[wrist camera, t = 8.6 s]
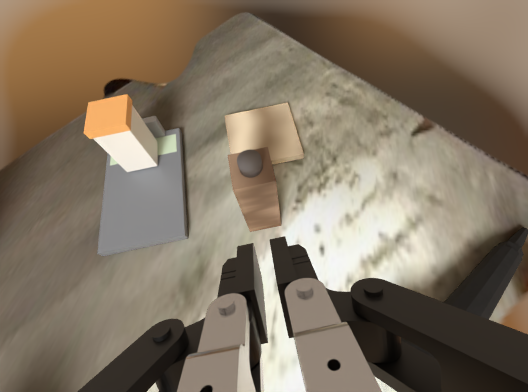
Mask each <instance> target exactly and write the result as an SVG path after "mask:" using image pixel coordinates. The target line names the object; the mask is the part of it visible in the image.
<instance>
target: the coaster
mask: <svg viewBox="0 0 528 392" xmlns="http://www.w3.org/2000/svg"><path fill="white" fill-rule="evenodd" d="M225 121H226V127H227V134H228V140H229V146H230V153H231V154H235V153H240V152H243V151H245V150H249V149H251V150H254V149H259V148H264V147H268V150H269V154H270V158H271V162H272V165H274V164H278V163H283V162H288V161H293V160H297V159H302V158H304V153H303V150H302V146H301V143H300V140H299V137H298V134H297V130H296V127H295V124H294V121H293V118H292V114H291V111H290V108H289V105H288V102H287V103H282V104H278V105H273V106H268V107H263V108H259V109H254V110H249V111H245V112H240V113H235V114H230V115H226V116H225Z"/></svg>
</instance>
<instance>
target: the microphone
mask: <svg viewBox="0 0 528 392" xmlns="http://www.w3.org/2000/svg"><path fill="white" fill-rule="evenodd" d="M527 234H528V229H527V228H521V229H520V230H519V231H518V232H517V233H515V234H514V235H513V236H512V237H511V238H510V239H509V240H508V241H506V242H503V243H499V244H498V246H495V247H494V248H493V249H492V250H491V252H490V253H489V254H488V255H487V256H486V257H485V258H484V259H483V260H482V261H481V262H480V264H479V265H478V266H477V267H476V268H475V269H474V270H473V271H472V272H471V273H470V275H469V276H468V277H467V278H466V279H465V280H464V281H463V282H462V283H461V284H460V285H459V287H458V288H457V289H456V290H455V291H454V292H453V293H452V294H451V295H450V296H449V298H448V299H447V300H446V301H445V302H444V303H446V304H449V305H451V306H454V307H457V308H459V309H462V310H465V311H467V312H470V313H472V314H475V315H478V316H480V317H483V318H486V319H488V320H489V318H490V316H491V314H492V313H493V311H494V309H495V307H496V305H497V304H498V302H499V300H500V298H501V296H502V295H503V293H504V291H505V289H506V287H507V286H508V284H509V282H510V280H511V278H512V277H513V275H514V273H515V271H516V269H517V268H518V266H519V264H520V262H521V261H522V256H523V252H522V246H523V244H524V242H525V239H526V237H527ZM401 341H403V342H405V343H407V344H409V345H410V346H412V347H414V348H416V349H418V350H420V351H422V352H424V353H425V354H427V355H429V356H431V357H433V358H435V357H434V356H433V355H431V354H430V353H429V352H427V351H426V350H424V349H422V348H420V347H418V346H416V345H414V344H412V343H411V342H409V341H407V340H405V339H403V338H401Z"/></svg>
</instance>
